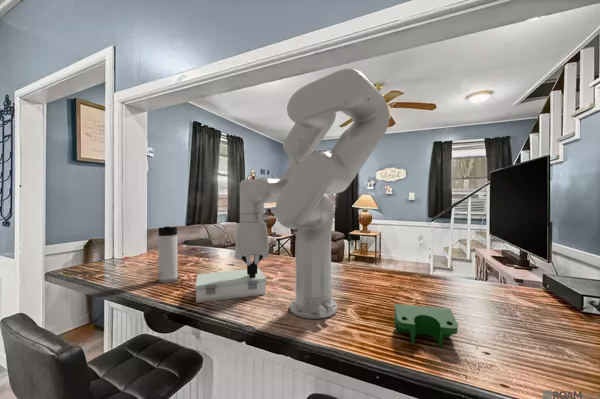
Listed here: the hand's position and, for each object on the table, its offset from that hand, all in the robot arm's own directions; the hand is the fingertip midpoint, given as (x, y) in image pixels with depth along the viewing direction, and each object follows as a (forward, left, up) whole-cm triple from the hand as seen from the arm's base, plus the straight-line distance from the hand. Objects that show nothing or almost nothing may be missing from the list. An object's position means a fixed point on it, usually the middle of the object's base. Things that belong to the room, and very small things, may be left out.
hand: (252, 276), depth 82 cm
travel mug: (+23, +27, -5) cm, 36 cm away
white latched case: (+3, +6, -5) cm, 9 cm away
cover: (+2, +6, -1) cm, 7 cm away
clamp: (-40, -30, -5) cm, 50 cm away
